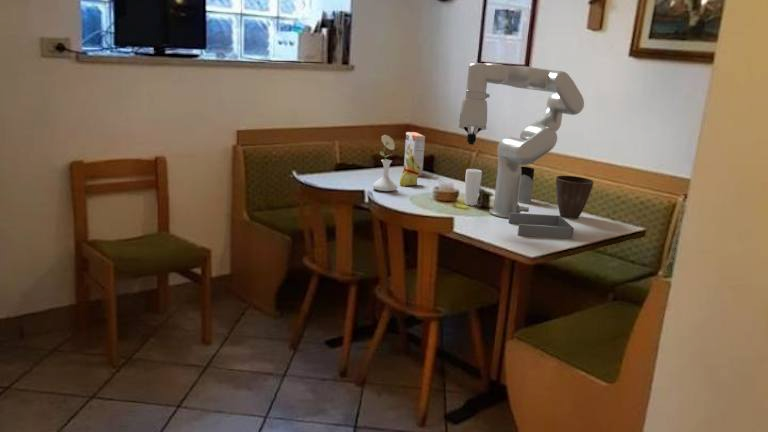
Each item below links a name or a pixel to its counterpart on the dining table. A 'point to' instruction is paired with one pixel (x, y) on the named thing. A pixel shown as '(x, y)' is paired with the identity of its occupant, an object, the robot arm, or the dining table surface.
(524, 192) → the glass holder
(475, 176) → the drinking glass
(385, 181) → the flower in vase
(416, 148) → the cracker box
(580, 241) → the dining table surface
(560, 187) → the plant pot
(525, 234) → the frame
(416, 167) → the chocolate bunny
